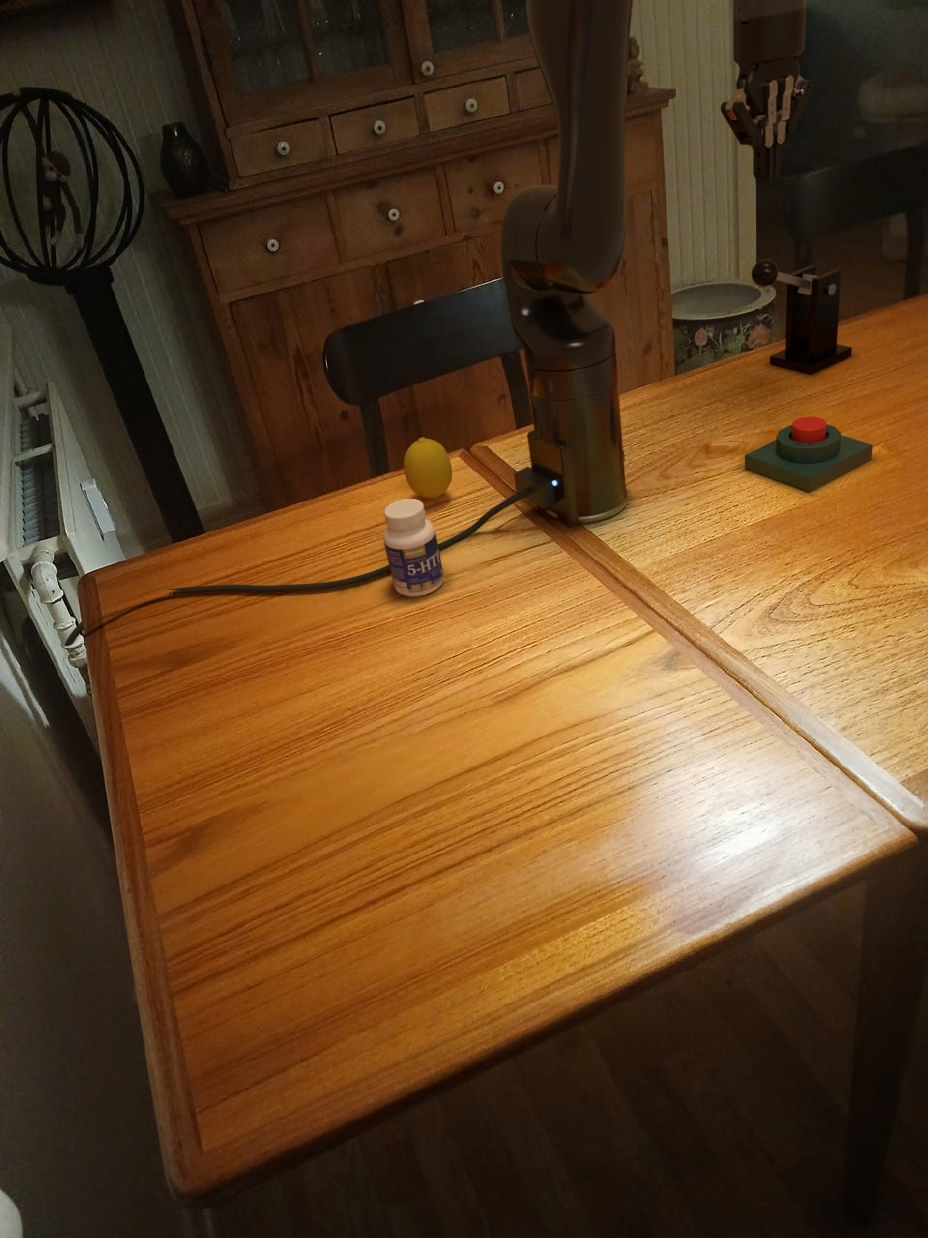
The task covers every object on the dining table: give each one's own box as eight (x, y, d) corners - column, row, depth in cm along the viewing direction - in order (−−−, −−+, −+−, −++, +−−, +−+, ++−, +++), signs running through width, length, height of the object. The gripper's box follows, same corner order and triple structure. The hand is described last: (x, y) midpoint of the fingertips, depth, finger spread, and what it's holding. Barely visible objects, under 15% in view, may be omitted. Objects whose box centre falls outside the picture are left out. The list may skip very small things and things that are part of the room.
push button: (810, 448, 102) (811, 433, 101) (783, 439, 105) (784, 424, 104) (833, 436, 103) (834, 421, 102) (806, 428, 106) (807, 413, 105)
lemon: (435, 485, 117) (423, 424, 112) (466, 495, 113) (455, 433, 109) (402, 504, 114) (388, 443, 109) (433, 515, 110) (420, 452, 106)
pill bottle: (415, 603, 95) (398, 526, 90) (384, 587, 99) (366, 512, 94) (455, 579, 98) (440, 503, 93) (423, 564, 101) (407, 490, 96)
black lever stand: (810, 374, 126) (814, 284, 119) (769, 364, 131) (771, 277, 124) (851, 355, 129) (857, 266, 122) (809, 346, 134) (813, 260, 127)
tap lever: (762, 285, 117) (770, 258, 116) (743, 282, 119) (750, 255, 118) (825, 302, 124) (834, 276, 123) (806, 298, 127) (814, 273, 126)
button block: (809, 492, 101) (810, 462, 99) (744, 468, 107) (744, 439, 105) (871, 458, 104) (874, 429, 102) (805, 437, 111) (806, 409, 109)
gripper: (784, 0, 108) (781, 165, 118) (699, 22, 103) (702, 192, 113) (839, -6, 103) (831, 168, 112) (752, 17, 98) (750, 196, 107)
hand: (766, 179), depth 112 cm, fingers closed
